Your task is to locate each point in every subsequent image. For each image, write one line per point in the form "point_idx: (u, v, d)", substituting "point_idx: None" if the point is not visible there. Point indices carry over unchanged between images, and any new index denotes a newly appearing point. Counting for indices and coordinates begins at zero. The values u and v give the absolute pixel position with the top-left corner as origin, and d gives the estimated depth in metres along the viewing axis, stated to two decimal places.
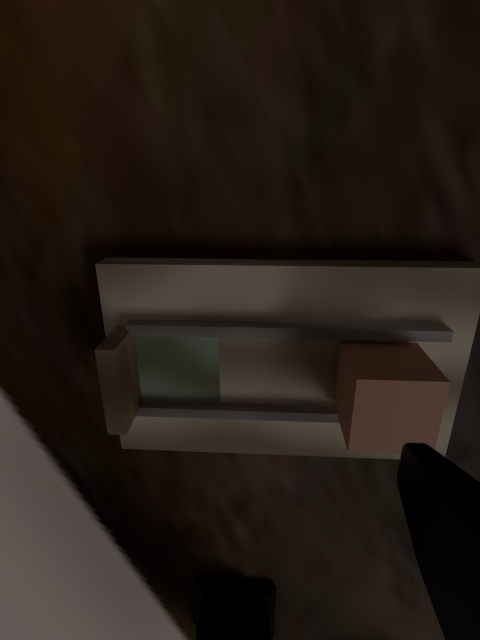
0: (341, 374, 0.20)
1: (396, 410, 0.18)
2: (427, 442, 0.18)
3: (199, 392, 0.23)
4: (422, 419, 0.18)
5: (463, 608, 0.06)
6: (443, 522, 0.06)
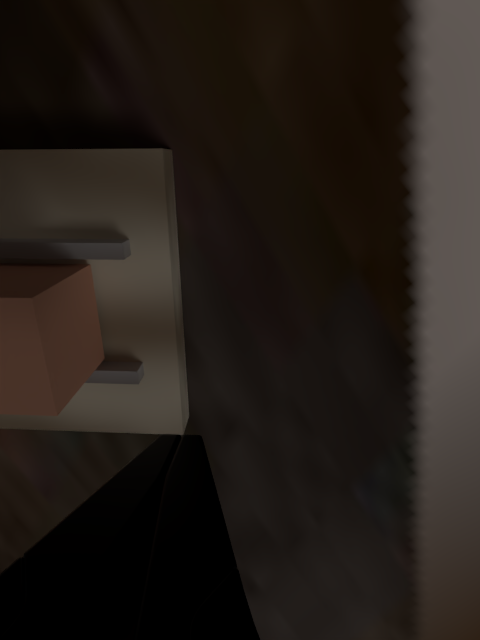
0: None
1: None
2: (40, 396, 0.12)
3: None
4: (18, 360, 0.12)
5: None
6: None
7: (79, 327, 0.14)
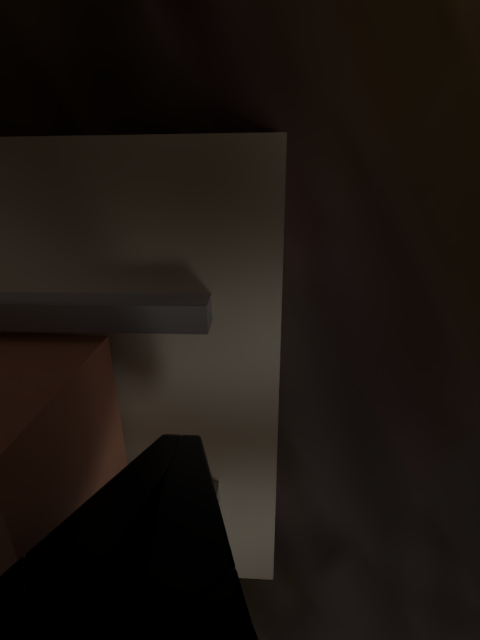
0: None
1: None
2: None
3: None
4: None
5: None
6: None
7: (90, 457, 0.08)
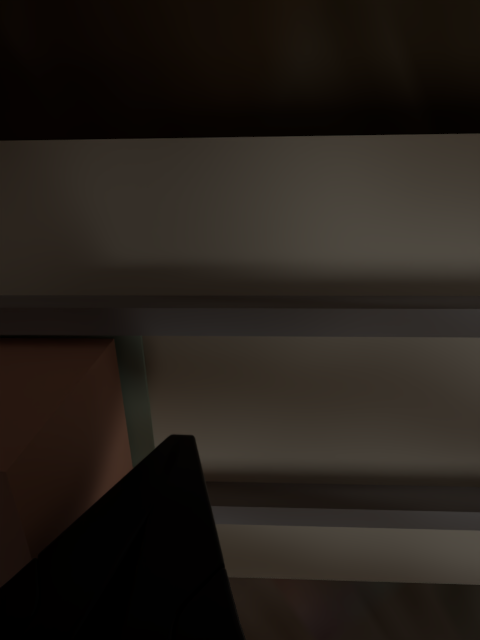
0: None
1: None
2: None
3: None
4: None
5: None
6: None
7: (98, 459, 0.08)
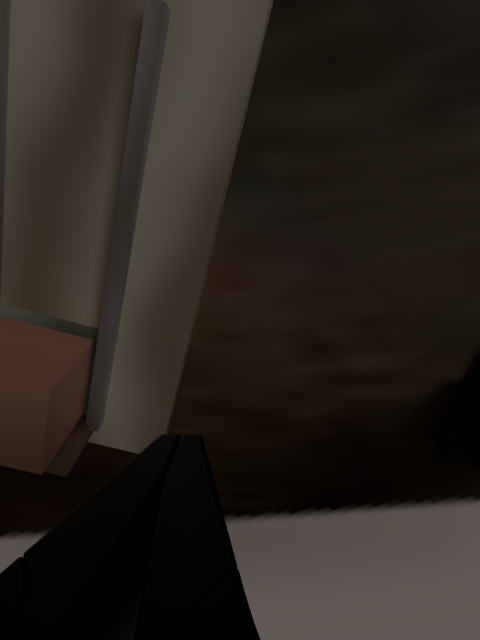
0: None
1: None
2: (27, 393, 0.14)
3: None
4: None
5: None
6: None
7: (26, 344, 0.16)
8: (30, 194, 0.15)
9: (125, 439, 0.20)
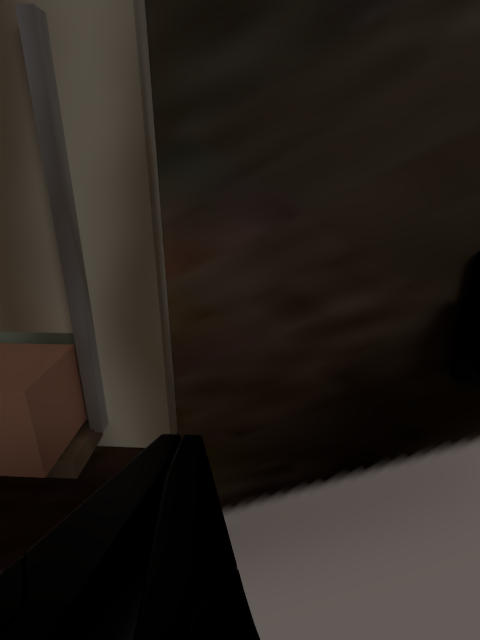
0: None
1: None
2: (7, 401, 0.14)
3: None
4: None
5: None
6: None
7: (8, 360, 0.16)
8: None
9: (134, 436, 0.20)
